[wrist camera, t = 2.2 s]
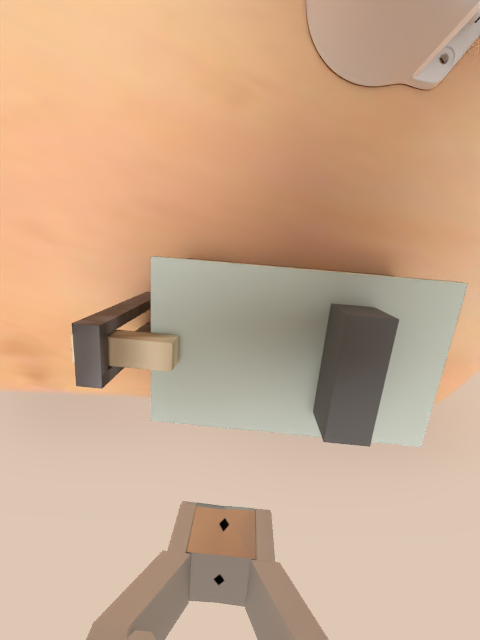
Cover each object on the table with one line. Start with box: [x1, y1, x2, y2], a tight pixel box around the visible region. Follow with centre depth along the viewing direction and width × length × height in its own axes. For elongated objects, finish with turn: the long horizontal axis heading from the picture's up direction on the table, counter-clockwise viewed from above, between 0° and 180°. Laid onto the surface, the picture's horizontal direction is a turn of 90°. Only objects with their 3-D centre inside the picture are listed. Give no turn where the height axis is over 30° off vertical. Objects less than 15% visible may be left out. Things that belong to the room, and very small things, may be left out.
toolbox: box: [72, 258, 391, 388], centre depth 28 cm, size 29×14×15 cm, turn 85°
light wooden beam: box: [71, 330, 179, 372], centre depth 23 cm, size 8×2×2 cm, turn 85°
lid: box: [151, 256, 468, 447], centre depth 23 cm, size 25×15×6 cm, turn 85°
